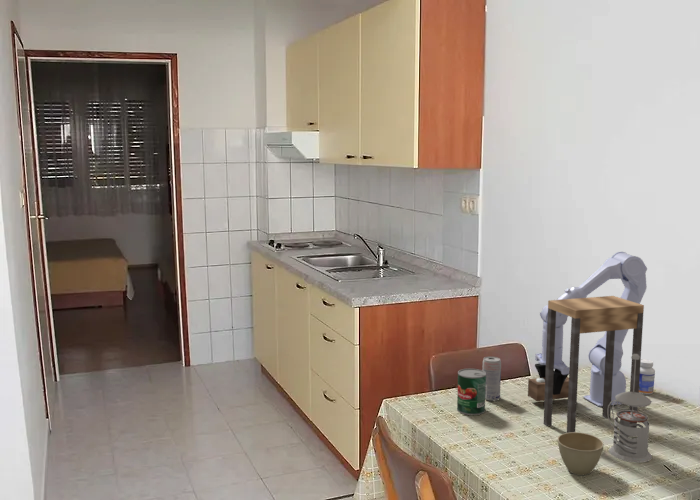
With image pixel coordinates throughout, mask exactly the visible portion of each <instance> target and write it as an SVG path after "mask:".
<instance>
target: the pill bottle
mask: <svg viewBox="0 0 700 500" xmlns="http://www.w3.org/2000/svg"><path fill="white" fill-rule="evenodd" d="M655 372H656V370H655V368H654V361H653V360H650V359H645V358H643V359H641V363H640V379H639V393H640V394H643V395H645V396H646V395H652V394H653V393H654V388H655V376H656V375H655V374H656V373H655Z"/></svg>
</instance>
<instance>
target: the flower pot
mask: <svg viewBox="0 0 700 500" xmlns="http://www.w3.org/2000/svg"><path fill="white" fill-rule="evenodd" d="M557 445H558V450H559V453H560V454H559V455H560V457H561V459H562V461H563V464H564V466H565V467H566V469H567V470H568V472H570V473H571V474H573V475H578V476H587V475H589V474H591V473H592V472H593V471H594V469H595V468H596V467H597V465H598V463H599V461H600V459H601V456H602V454H603V451H604V442H603V440H602V439H601V438H599V437H597V436H596V435H592V434H590V433H585V432H577V431H575V432H569V433H567V432H565V433H562V434H560V435H559V436H558V437H557Z"/></svg>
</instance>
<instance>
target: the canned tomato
mask: <svg viewBox="0 0 700 500" xmlns="http://www.w3.org/2000/svg"><path fill="white" fill-rule="evenodd" d="M485 391H486V372H484V371H483V369H477V368H463V369H459V370H458V371H457V393H456V395H457V400H456V402H457V403H456V405H457V406H456V410H457V412H458V413H460V414H464V415H468V416H479V415H482V414H484V413H485V412H486V400H485Z"/></svg>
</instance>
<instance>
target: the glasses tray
mask: <svg viewBox="0 0 700 500" xmlns="http://www.w3.org/2000/svg"><path fill="white" fill-rule="evenodd" d="M568 389H569V376H567V378H566V379H565V381H564V383H563V386H562V389H561V392H560V394H557V395H553V400H560V399H561V400H562V399H568ZM527 396H528V397H529V398H531V399H533V401H535V402H543V401H544V398H545V377H544V378H540V377H538V378H537V377H536V378H528V383H527Z"/></svg>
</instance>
